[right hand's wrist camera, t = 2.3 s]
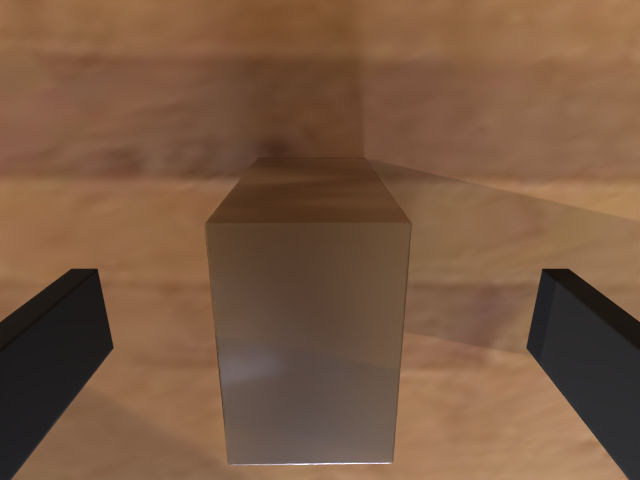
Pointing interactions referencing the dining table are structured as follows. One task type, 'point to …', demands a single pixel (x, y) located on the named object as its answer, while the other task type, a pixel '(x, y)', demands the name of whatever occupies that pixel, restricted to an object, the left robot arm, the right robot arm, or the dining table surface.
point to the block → (309, 312)
